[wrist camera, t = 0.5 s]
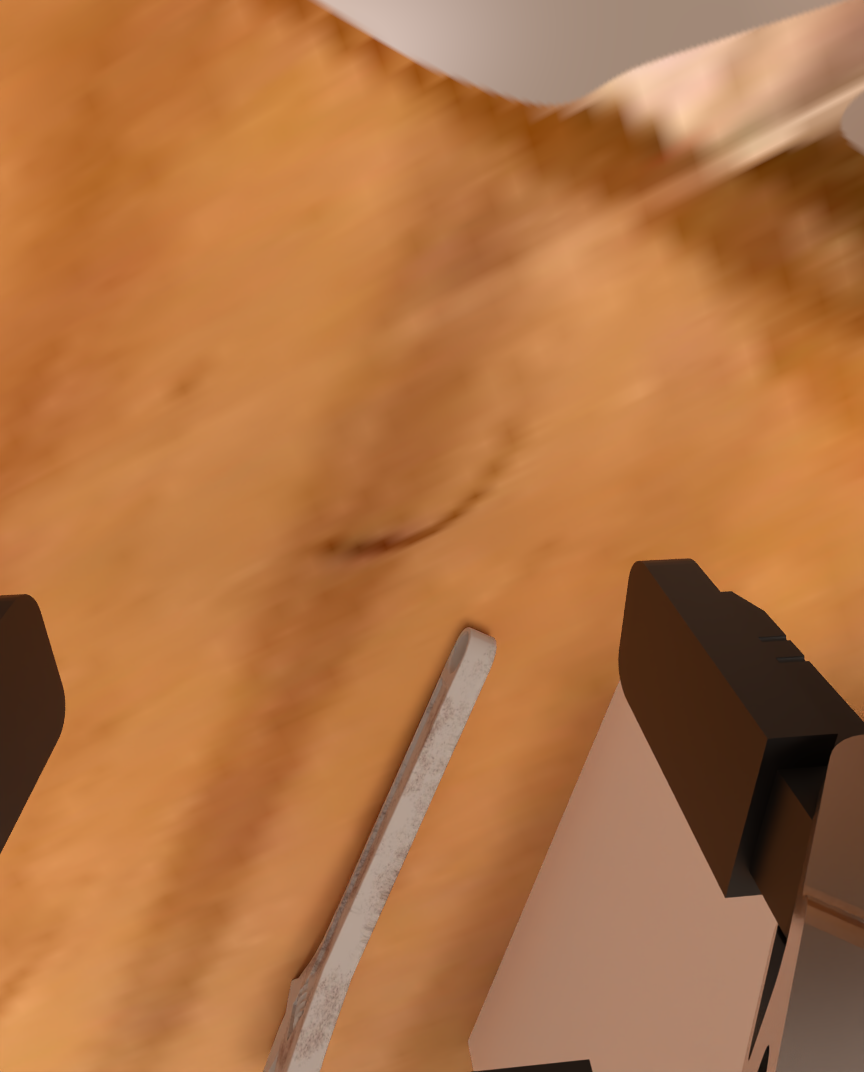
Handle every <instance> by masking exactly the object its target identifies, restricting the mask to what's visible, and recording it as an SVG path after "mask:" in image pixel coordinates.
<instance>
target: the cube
mask: <svg viewBox="0 0 864 1072" xmlns="http://www.w3.org/2000/svg"><path fill="white" fill-rule="evenodd" d="M776 923H777V921H776V919H775V917H774V916H773V914H772V912H771V910H770V908H769V906H768V905H767V903H766V901H765V899H764V897H763V896H762V895H754V896H743V897H732V898H725V897H724V895H723V893H722V891H721V889H720V887H719V885H718V883H717V881H716V879H715V877H714V875H713V873H712V871H711V869H710V867H709V865H708V863H707V861H706V859H705V857H704V855H703V853H702V851H701V849H700V847H699V844H698V842H697V840H696V838H695V836H694V834H693V832H692V830H691V828H690V826H689V824H688V822H687V820H686V818H685V816H684V814H683V812H682V810H681V808H680V806H679V804H678V802H677V800H676V798H675V796H674V794H673V792H672V790H671V788H670V786H669V784H668V782H667V780H666V778H665V776H664V774H663V772H662V770H661V768H660V766H659V764H658V762H657V760H656V758H655V756H654V754H653V752H652V750H651V748H650V746H649V744H648V742H647V740H646V738H645V736H644V734H643V732H642V730H641V728H640V726H639V724H638V722H637V720H636V718H635V716H634V714H633V712H632V710H631V708H630V706H629V704H628V702H627V700H626V698H625V695H624V692H623V689H622V685H621V681H619V683H618V685H617V688H616V690H615V692H614V695H613V697H612V700H611V702H610V704H609V707H608V709H607V711H606V714H605V716H604V719H603V721H602V723H601V726H600V728H599V731H598V733H597V735H596V738H595V740H594V742H593V745H592V747H591V750H590V752H589V754H588V757H587V759H586V761H585V764H584V766H583V769H582V771H581V773H580V776H579V778H578V780H577V783H576V785H575V788H574V790H573V792H572V795H571V797H570V800H569V802H568V804H567V807H566V809H565V811H564V814H563V816H562V819H561V821H560V823H559V826H558V828H557V830H556V833H555V835H554V838H553V840H552V842H551V845H550V847H549V849H548V852H547V854H546V857H545V859H544V861H543V864H542V866H541V868H540V871H539V873H538V876H537V878H536V880H535V883H534V885H533V888H532V890H531V892H530V895H529V897H528V899H527V902H526V904H525V907H524V909H523V911H522V914H521V916H520V918H519V921H518V923H517V926H516V928H515V930H514V933H513V935H512V937H511V940H510V942H509V945H508V947H507V949H506V952H505V954H504V957H503V959H502V961H501V964H500V966H499V968H498V971H497V973H496V976H495V978H494V980H493V983H492V985H491V987H490V990H489V992H488V995H487V997H486V999H485V1002H484V1004H483V1006H482V1009H481V1011H480V1014H479V1016H478V1018H477V1021H476V1023H475V1026H474V1028H473V1030H472V1033H471V1035H470V1037H469V1040H468V1046H469V1051H470V1056H471V1061H472V1066H473V1071H482V1070H492V1069H501V1068H511V1067H520V1066H530V1065H539V1064H548V1063H558V1062H567V1061H577V1060H586V1059H589V1060H590V1064H591V1067H592V1071H593V1072H742V1068H743V1063H744V1059H745V1054H746V1050H747V1046H748V1041H749V1037H750V1033H751V1028H752V1024H753V1019H754V1015H755V1011H756V1006H757V1002H758V997H759V993H760V989H761V984H762V980H763V976H764V971H765V967H766V962H767V958H768V954H769V949H770V945H771V941H772V936H773V933H774V929H775V926H776Z"/></svg>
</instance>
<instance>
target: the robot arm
mask: <svg viewBox="0 0 864 1072" xmlns="http://www.w3.org/2000/svg"><path fill="white" fill-rule="evenodd" d="M618 661H619V675H620V681H621V685H622V689H623V692H624V695H625V698H626V700H627V702H628V704H629V706H630V708H631V710H632V712H633V714H634V716H635V718H636V720H637V722H638V724H639V726H640V728H641V730H642V732H643V734H644V736H645V738H646V740H647V742H648V744H649V746H650V748H651V750H652V752H653V754H654V756H655V758H656V760H657V762H658V764H659V766H660V768H661V770H662V772H663V774H664V776H665V778H666V780H667V782H668V784H669V786H670V788H671V790H672V792H673V794H674V796H675V798H676V800H677V802H678V804H679V806H680V808H681V810H682V812H683V814H684V816H685V818H686V820H687V822H688V824H689V826H690V828H691V830H692V832H693V834H694V836H695V838H696V840H697V842H698V844H699V847H700V849H701V851H702V853H703V855H704V857H705V859H706V861H707V863H708V865H709V867H710V869H711V871H712V873H713V875H714V877H715V879H716V881H717V883H718V885H719V887H720V889H721V891H722V893H723V895H724V897H725V898H732V897H743V896H754V895H762V896H763V897H764V899H765V901H766V903H767V905H768V906H769V908H770V910H771V912H772V914H773V916H774V917H775V919H776V921H777V923H776V926H775V929H774V933H773V936H772V941H771V945H770V949H769V954H768V958H767V962H766V967H765V971H764V976H763V980H762V984H761V989H760V993H759V997H758V1002H757V1006H756V1011H755V1015H754V1019H753V1024H752V1028H751V1033H750V1037H749V1041H748V1046H747V1050H746V1054H745V1059H744V1063H743V1068H742V1072H864V722H863V721H862V720H861V719H860V717H859V716H858V715H857V714H856V713H855V712H854V711H853V710H852V709H851V707H850V706H849V705H848V704H847V703H846V702H845V701H844V700H843V698H842V697H841V696H840V695H839V694H838V693H837V692H836V691H835V690H834V688H833V687H832V686H831V685H830V684H829V683H828V682H827V681H826V679H825V678H824V677H823V676H822V675H821V674H820V673H819V672H818V671H817V669H816V668H815V667H814V666H813V665H812V664H811V663H810V662H809V661H805V660H804V655H803V654H802V653H801V652H800V650H799V649H798V648H797V647H796V646H795V645H794V644H793V643H792V642H791V640H788V641H787V640H786V635H785V634H784V633H783V631H782V630H781V629H780V628H779V627H778V626H777V625H776V624H775V623H774V621H773V620H772V619H771V618H770V617H769V616H768V615H767V614H766V612H765V611H763V610H762V609H760V608H758V607H757V606H755V605H753V604H752V603H750V602H748V601H747V600H745V599H743V598H742V597H740V596H738V595H737V594H735V593H733V592H732V591H729V592H720V591H719V590H718V588H717V587H716V586H715V585H714V584H713V582H712V581H711V580H710V579H709V578H708V576H707V575H706V574H705V573H704V572H703V570H702V569H701V568H700V567H699V566H698V564H697V563H696V562H695V561H694V560H692V559H688V558H687V559H668V560H649V561H637V562H635V563H634V565H633V566H632V568H631V571H630V575H629V581H628V588H627V595H626V603H625V610H624V618H623V625H622V632H621V640H620V647H619V660H618ZM64 717H65V695H64V690H63V685H62V682H61V679H60V675H59V672H58V669H57V665H56V662H55V659H54V655H53V652H52V648H51V645H50V642H49V638H48V635H47V632H46V628H45V625H44V621H43V618H42V615H41V612H40V609H39V606H38V604H37V602H36V601H35V600H34V598H32V597H31V596H30V595H26V594H21V595H1V596H0V853H1V851H2V849H3V848H4V846H5V844H6V842H7V840H8V838H9V836H10V834H11V832H12V830H13V828H14V826H15V824H16V822H17V820H18V818H19V816H20V814H21V812H22V810H23V808H24V806H25V804H26V802H27V800H28V798H29V796H30V794H31V792H32V790H33V788H34V786H35V784H36V782H37V780H38V778H39V776H40V774H41V772H42V771H43V769H44V767H45V765H46V763H47V761H48V759H49V757H50V755H51V753H52V751H53V749H54V747H55V745H56V743H57V741H58V739H59V737H60V734H61V731H62V728H63V724H64ZM473 1072H593V1071H592V1067H591V1064H590V1060H589V1059H586V1060H577V1061H567V1062H558V1063H548V1064H539V1065H530V1066H520V1067H511V1068H501V1069H492V1070H482V1071H473Z"/></svg>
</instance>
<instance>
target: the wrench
mask: <svg viewBox="0 0 864 1072" xmlns="http://www.w3.org/2000/svg"><path fill="white" fill-rule="evenodd" d="M495 653H496V640H495V638H493V637H491V636H489V635H486V634H484V633H482V632H480V631H477V630H475V629H473V628H470V627H467V628H465V629H464V630H463V631H462V632H461V634H460V635H459V637H458V639H457V641H456V643H455V646H454V648H453V650H452V652H451V654H450V656H449V658H448V660H447V662H446V665H445V667H444V669H443V671H442V674H441V676H440V678H439V680H438V683H437V685H436V687H435V689H434V692H433V694H432V696H431V698H430V701H429V703H428V705H427V707H426V710H425V712H424V714H423V717H422V719H421V721H420V723H419V726H418V728H417V730H416V732H415V735H414V737H413V739H412V741H411V744H410V746H409V748H408V750H407V753H406V755H405V757H404V759H403V762H402V764H401V766H400V768H399V771H398V773H397V775H396V777H395V779H394V782H393V784H392V786H391V788H390V791H389V793H388V795H387V797H386V800H385V802H384V804H383V806H382V809H381V811H380V813H379V815H378V818H377V820H376V822H375V824H374V827H373V829H372V831H371V833H370V836H369V838H368V840H367V842H366V845H365V847H364V849H363V851H362V854H361V856H360V858H359V861H358V863H357V865H356V867H355V870H354V872H353V874H352V876H351V879H350V881H349V883H348V885H347V888H346V890H345V892H344V894H343V896H342V899H341V901H340V903H339V905H338V908H337V910H336V912H335V914H334V916H333V919H332V921H331V923H330V925H329V927H328V930H327V932H326V934H325V936H324V938H323V941H322V942H321V944H320V946H319V948H318V949H317V951H316V953H315V955H314V956H313V958H312V960H311V961H310V963H309V964H308V965H307V967H306V968H305V970H304V971H303V972H302V974H301V975H300V977H299V978H297V979H293V980H292V981H291V986H290V991H289V997H288V1002H287V1008H286V1013H285V1016H284V1018H283V1020H282V1022H281V1025H280V1027H279V1030H278V1032H277V1035H276V1037H275V1040H274V1043H273V1045H272V1048H271V1051H270V1054H269V1056H268V1059H267V1062H266V1065H265V1068H264V1071H263V1072H320V1069H321V1066H322V1063H323V1060H324V1057H325V1054H326V1051H327V1047H328V1044H329V1041H330V1039H331V1036H332V1033H333V1030H334V1027H335V1024H336V1021H337V1019H338V1016H339V1013H340V1010H341V1007H342V1004H343V1001H344V999H345V996H346V993H347V990H348V987H349V984H350V982H351V979H352V976H353V974H354V972H355V969H356V967H357V965H358V963H359V961H360V958H361V956H362V954H363V952H364V949H365V947H366V945H367V943H368V940H369V938H370V936H371V934H372V932H373V929H374V927H375V925H376V923H377V920H378V918H379V916H380V914H381V912H382V909H383V907H384V905H385V903H386V900H387V898H388V896H389V894H390V891H391V889H392V887H393V885H394V883H395V880H396V878H397V876H398V874H399V871H400V869H401V867H402V865H403V862H404V860H405V858H406V856H407V854H408V851H409V849H410V847H411V845H412V842H413V840H414V838H415V836H416V833H417V831H418V829H419V827H420V825H421V822H422V820H423V818H424V816H425V813H426V811H427V809H428V807H429V805H430V802H431V800H432V798H433V796H434V793H435V791H436V789H437V787H438V784H439V782H440V780H441V778H442V776H443V773H444V771H445V769H446V767H447V764H448V762H449V760H450V758H451V755H452V753H453V751H454V749H455V747H456V744H457V742H458V740H459V738H460V735H461V733H462V731H463V729H464V726H465V724H466V722H467V720H468V718H469V715H470V713H471V711H472V709H473V706H474V704H475V702H476V700H477V697H478V695H479V693H480V691H481V689H482V686H483V684H484V682H485V680H486V677H487V675H488V673H489V671H490V668H491V666H492V663H493V660H494V657H495Z"/></svg>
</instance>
